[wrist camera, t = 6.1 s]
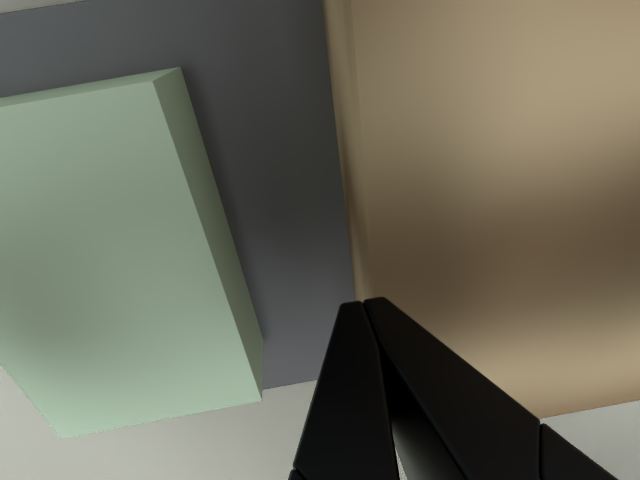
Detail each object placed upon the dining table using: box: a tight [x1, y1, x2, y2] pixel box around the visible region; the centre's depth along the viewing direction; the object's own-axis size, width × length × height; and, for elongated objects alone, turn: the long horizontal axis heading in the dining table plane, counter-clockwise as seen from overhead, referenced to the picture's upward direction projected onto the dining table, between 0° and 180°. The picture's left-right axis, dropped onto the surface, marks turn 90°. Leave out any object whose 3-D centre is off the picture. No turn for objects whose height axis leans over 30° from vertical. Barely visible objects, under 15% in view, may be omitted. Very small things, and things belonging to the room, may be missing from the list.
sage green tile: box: [0, 67, 264, 439], centre depth 10 cm, size 9×6×2 cm, turn 8°
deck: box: [322, 0, 640, 419], centre depth 10 cm, size 12×13×4 cm
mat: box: [0, 0, 356, 390], centre depth 12 cm, size 13×12×1 cm
